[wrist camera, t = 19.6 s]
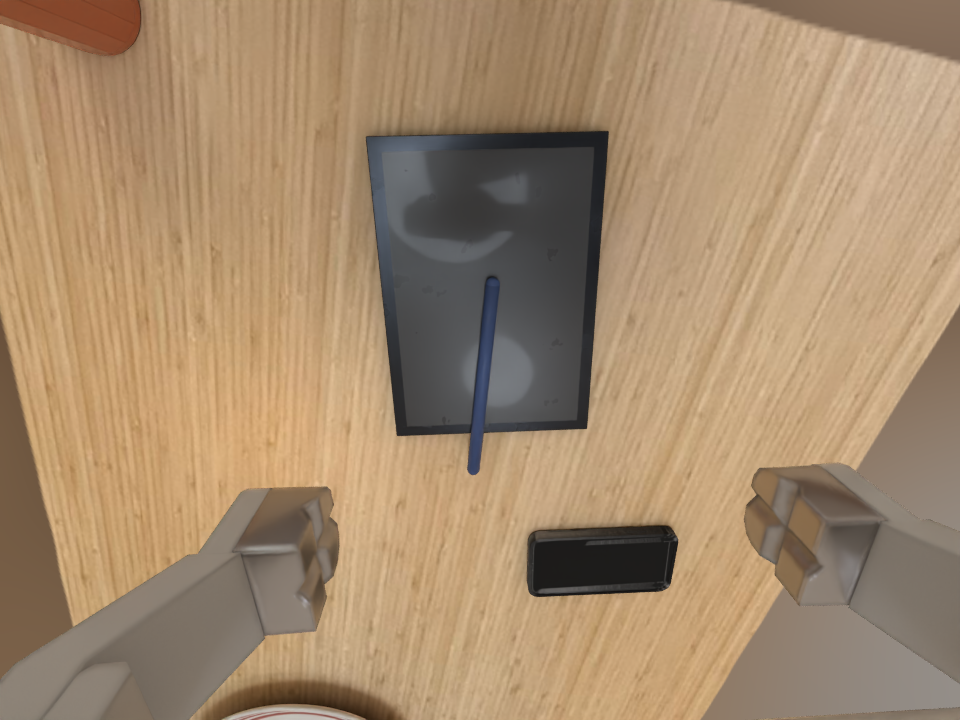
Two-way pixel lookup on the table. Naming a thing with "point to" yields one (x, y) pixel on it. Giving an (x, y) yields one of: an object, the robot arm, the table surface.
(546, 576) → the phone
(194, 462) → the table surface
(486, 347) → the stylus
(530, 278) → the tablet
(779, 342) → the table surface
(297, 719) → the dinner plate
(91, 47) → the holder
